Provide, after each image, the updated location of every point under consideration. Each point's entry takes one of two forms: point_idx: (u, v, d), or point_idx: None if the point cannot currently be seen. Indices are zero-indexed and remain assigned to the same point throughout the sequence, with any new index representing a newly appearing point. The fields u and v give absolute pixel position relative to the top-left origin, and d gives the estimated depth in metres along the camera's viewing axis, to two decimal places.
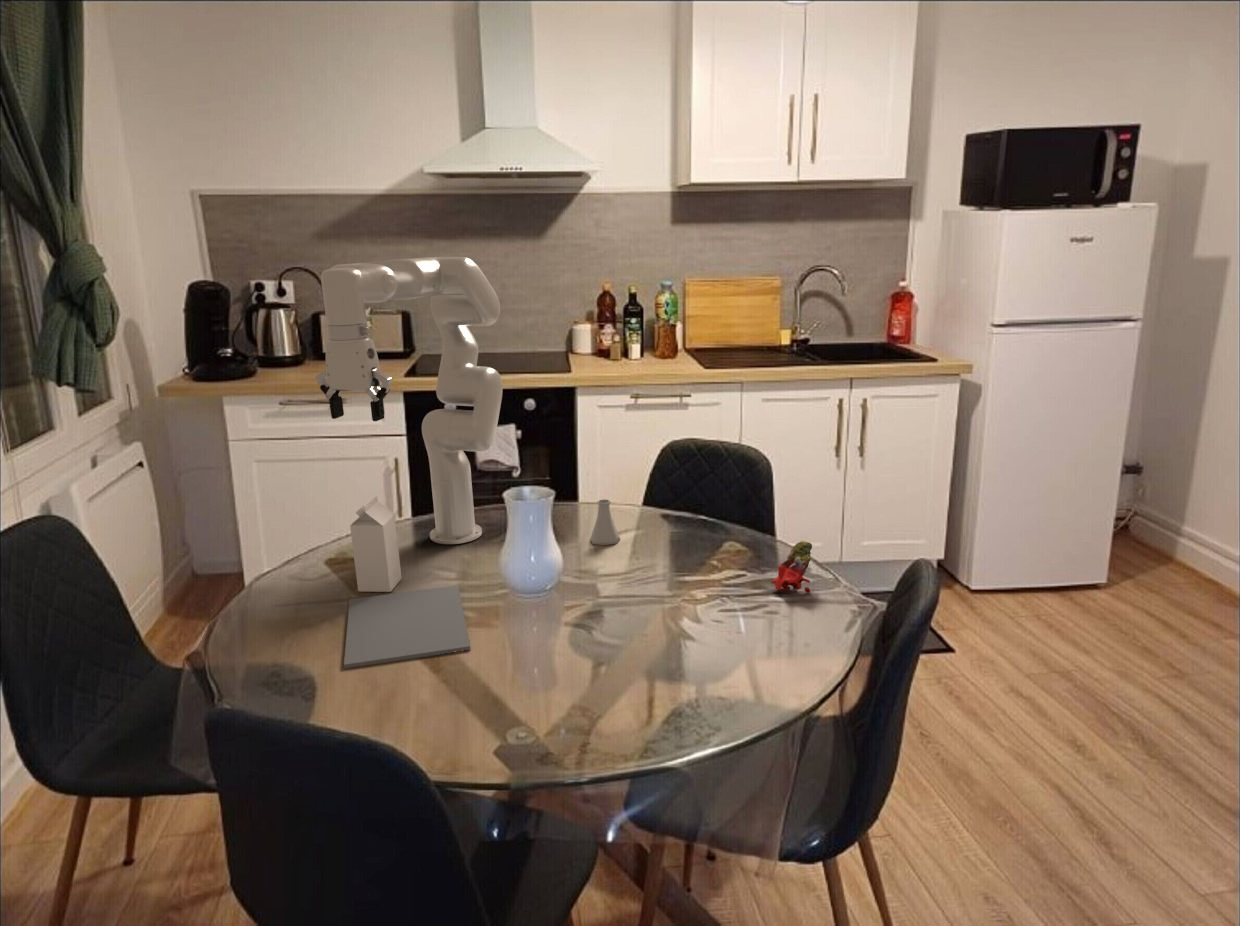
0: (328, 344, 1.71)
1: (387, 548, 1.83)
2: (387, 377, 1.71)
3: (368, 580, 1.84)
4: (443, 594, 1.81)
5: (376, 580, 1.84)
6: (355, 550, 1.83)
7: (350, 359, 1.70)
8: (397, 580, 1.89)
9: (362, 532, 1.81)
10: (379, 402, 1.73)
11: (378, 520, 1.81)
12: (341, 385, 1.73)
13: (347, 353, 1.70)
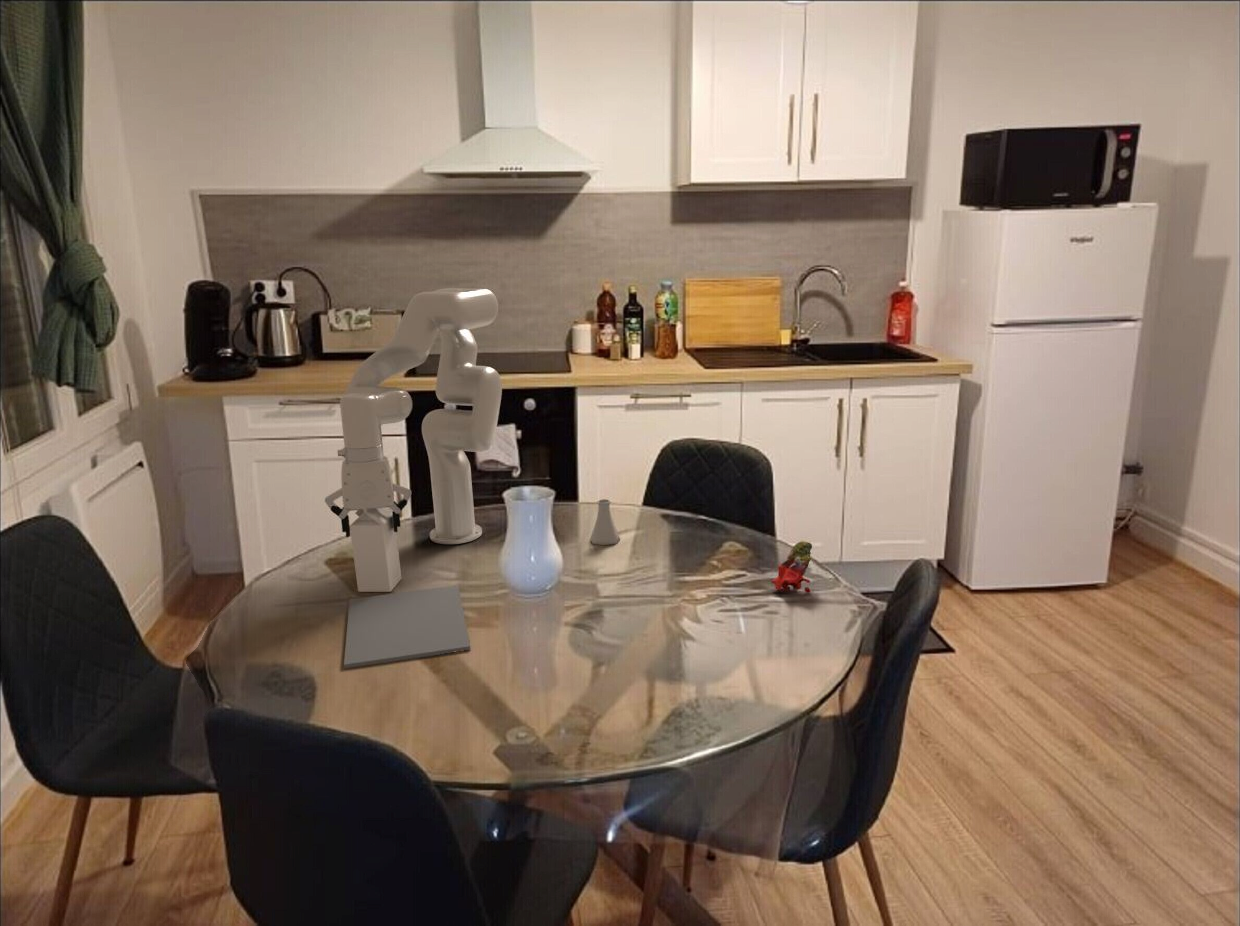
0: None
1: (387, 548, 1.83)
2: (327, 496, 1.80)
3: (368, 580, 1.84)
4: (443, 594, 1.81)
5: (376, 580, 1.84)
6: (355, 550, 1.83)
7: None
8: (397, 580, 1.89)
9: (362, 532, 1.81)
10: None
11: (378, 520, 1.81)
12: None
13: None
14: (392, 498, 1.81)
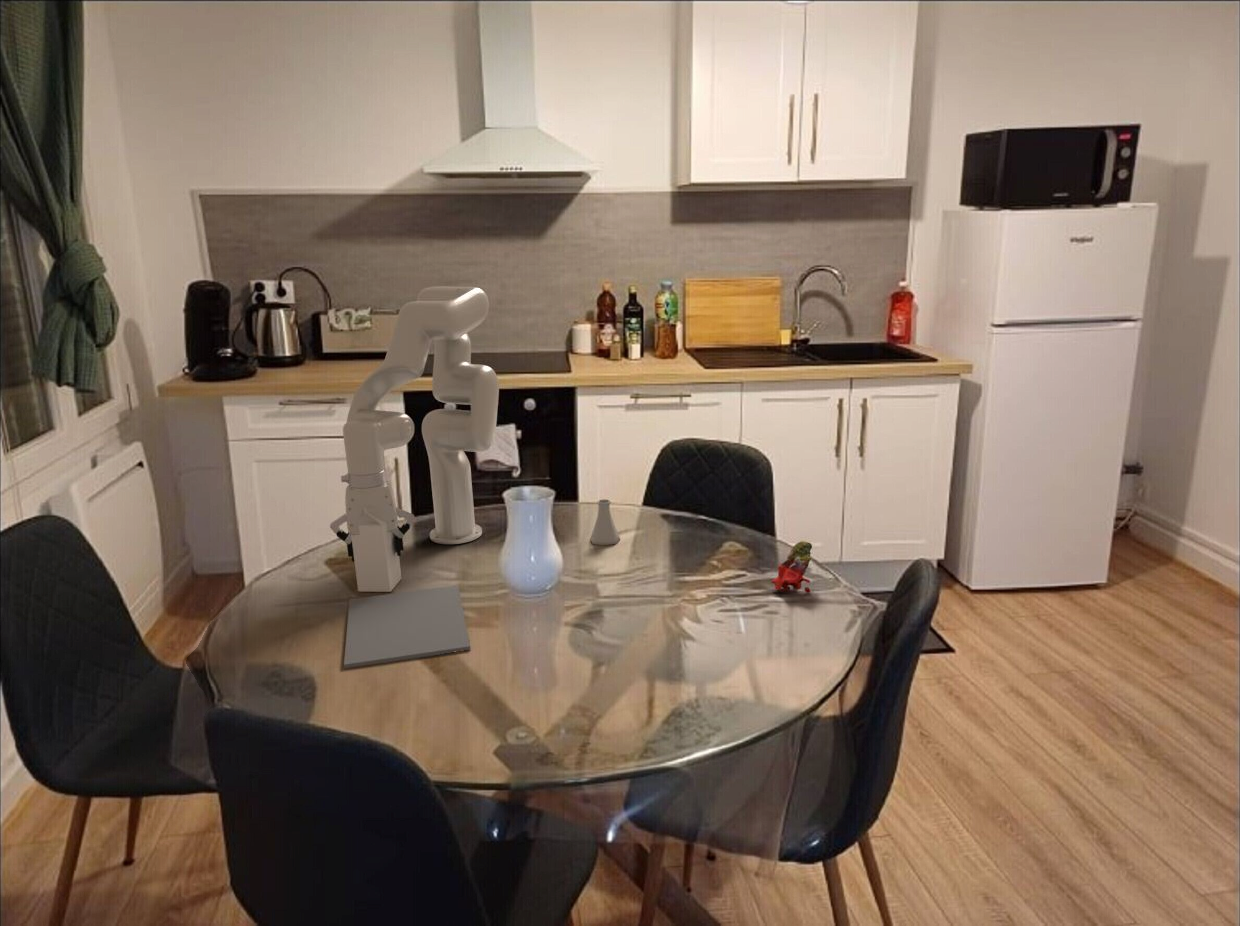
0: None
1: (387, 548, 1.83)
2: (332, 522, 1.82)
3: (368, 580, 1.84)
4: (443, 594, 1.81)
5: (376, 580, 1.84)
6: (355, 550, 1.83)
7: None
8: (397, 580, 1.89)
9: (362, 532, 1.81)
10: None
11: (378, 520, 1.81)
12: None
13: None
14: (396, 522, 1.83)
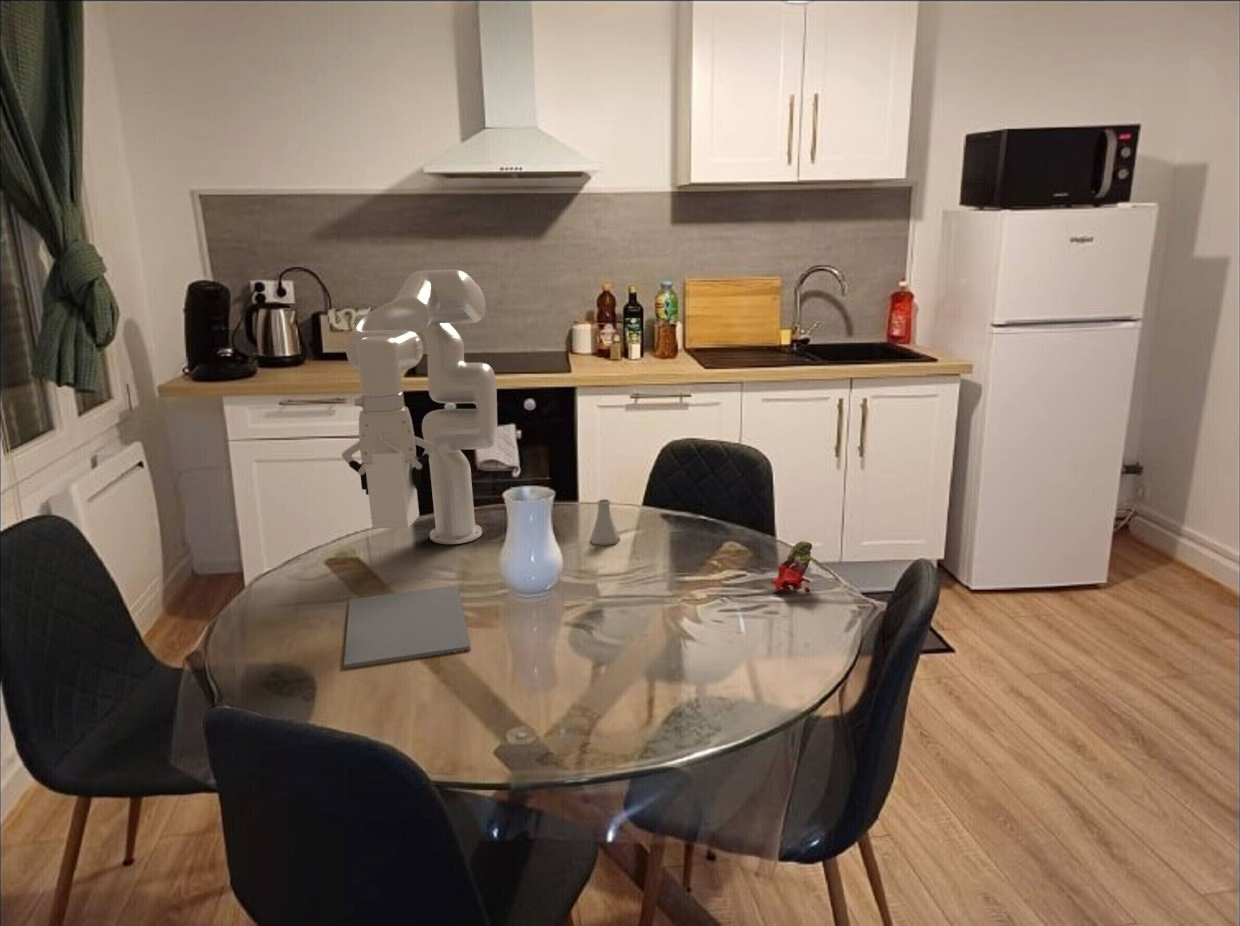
0: None
1: (405, 479, 1.67)
2: (344, 451, 1.66)
3: (383, 515, 1.68)
4: (443, 594, 1.81)
5: (392, 514, 1.68)
6: (369, 481, 1.67)
7: None
8: (415, 517, 1.73)
9: (377, 461, 1.65)
10: None
11: (395, 448, 1.65)
12: None
13: None
14: (414, 451, 1.67)
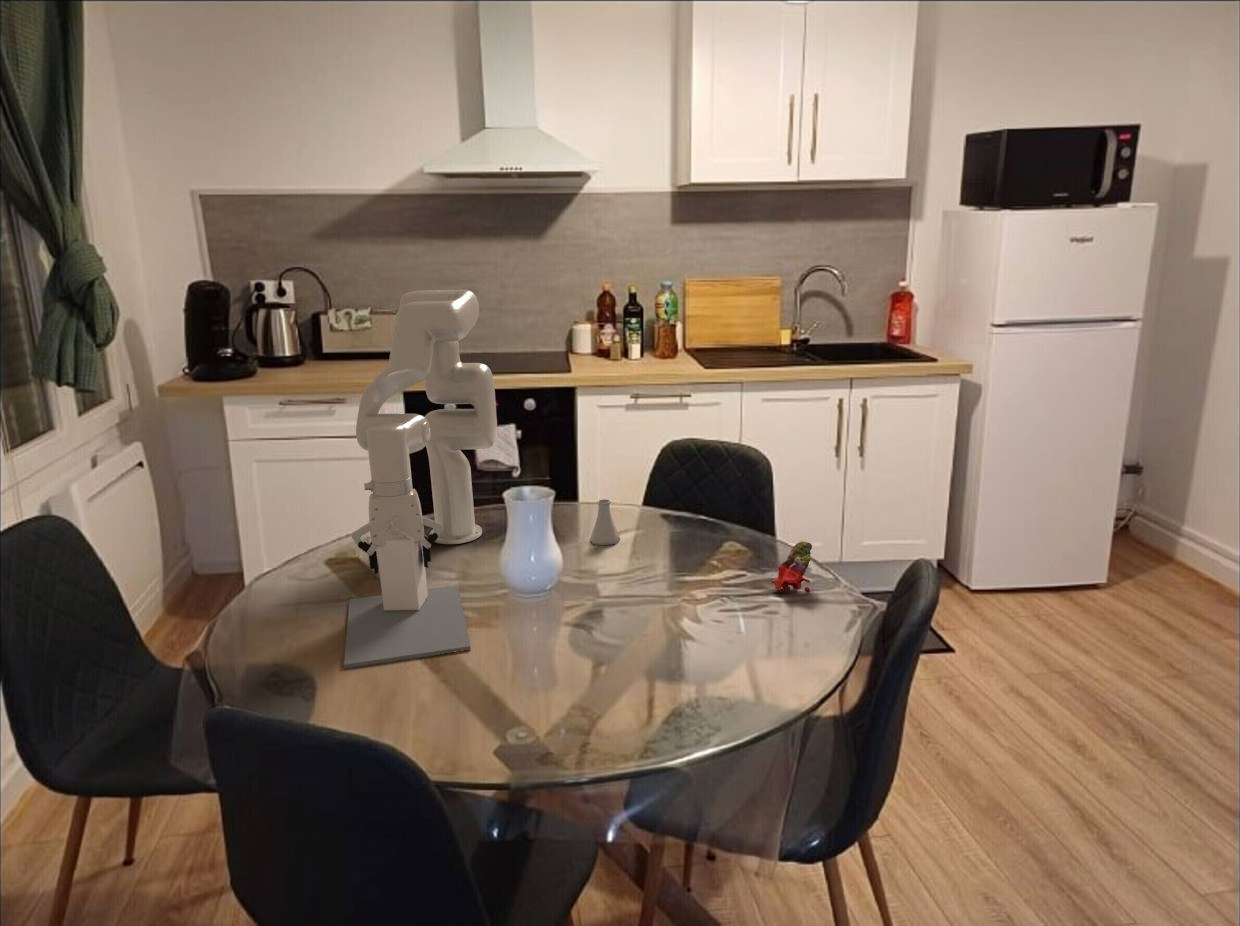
0: None
1: (416, 564, 1.72)
2: (354, 532, 1.71)
3: (395, 598, 1.73)
4: (443, 594, 1.81)
5: (403, 598, 1.73)
6: (381, 567, 1.72)
7: None
8: (424, 597, 1.78)
9: (389, 547, 1.70)
10: None
11: (406, 534, 1.70)
12: None
13: None
14: (422, 533, 1.72)
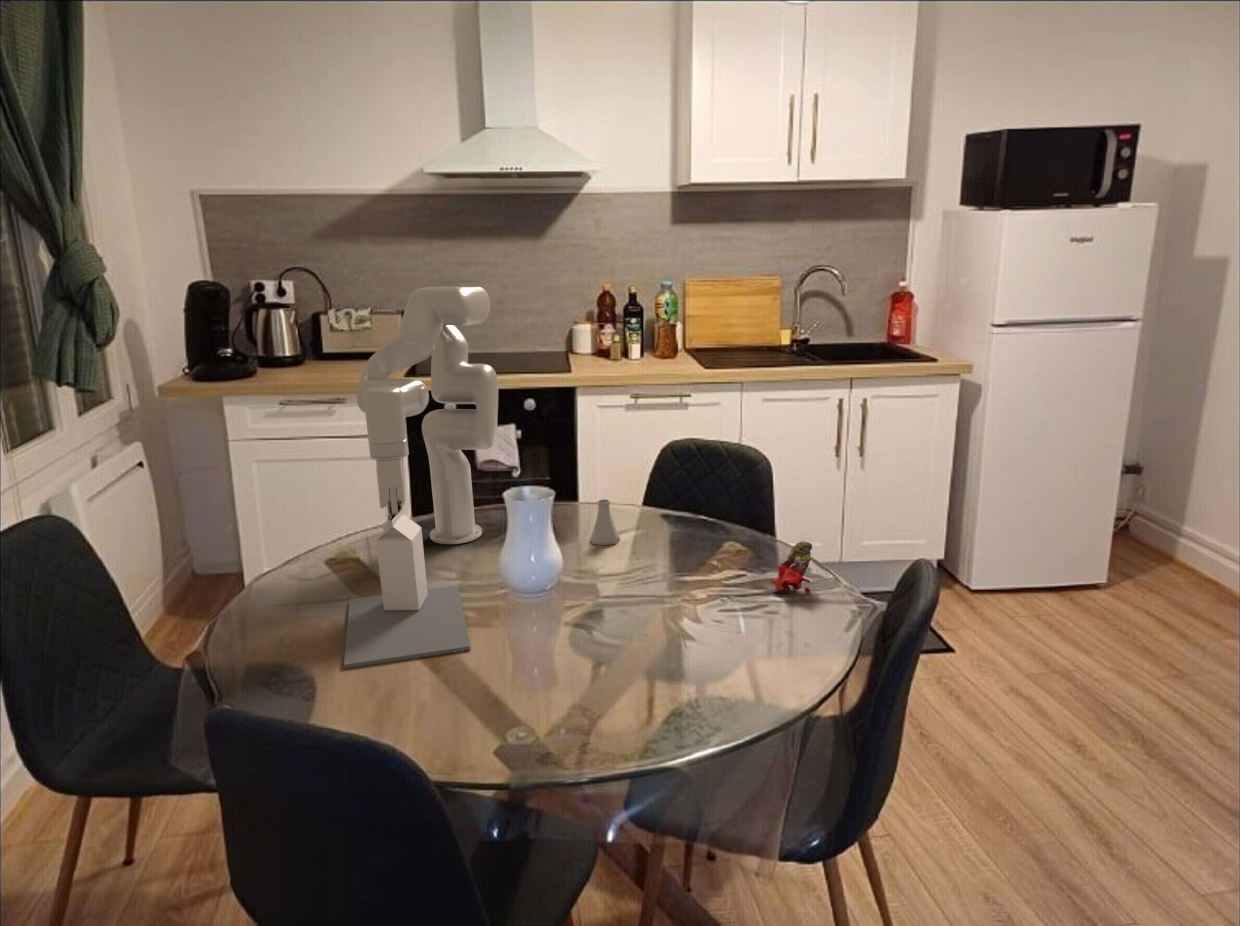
0: (401, 461, 1.73)
1: (416, 564, 1.72)
2: None
3: (395, 598, 1.73)
4: (443, 594, 1.81)
5: (403, 598, 1.73)
6: (381, 567, 1.72)
7: None
8: (424, 597, 1.78)
9: (389, 547, 1.70)
10: None
11: (406, 534, 1.70)
12: None
13: None
14: (380, 501, 1.72)
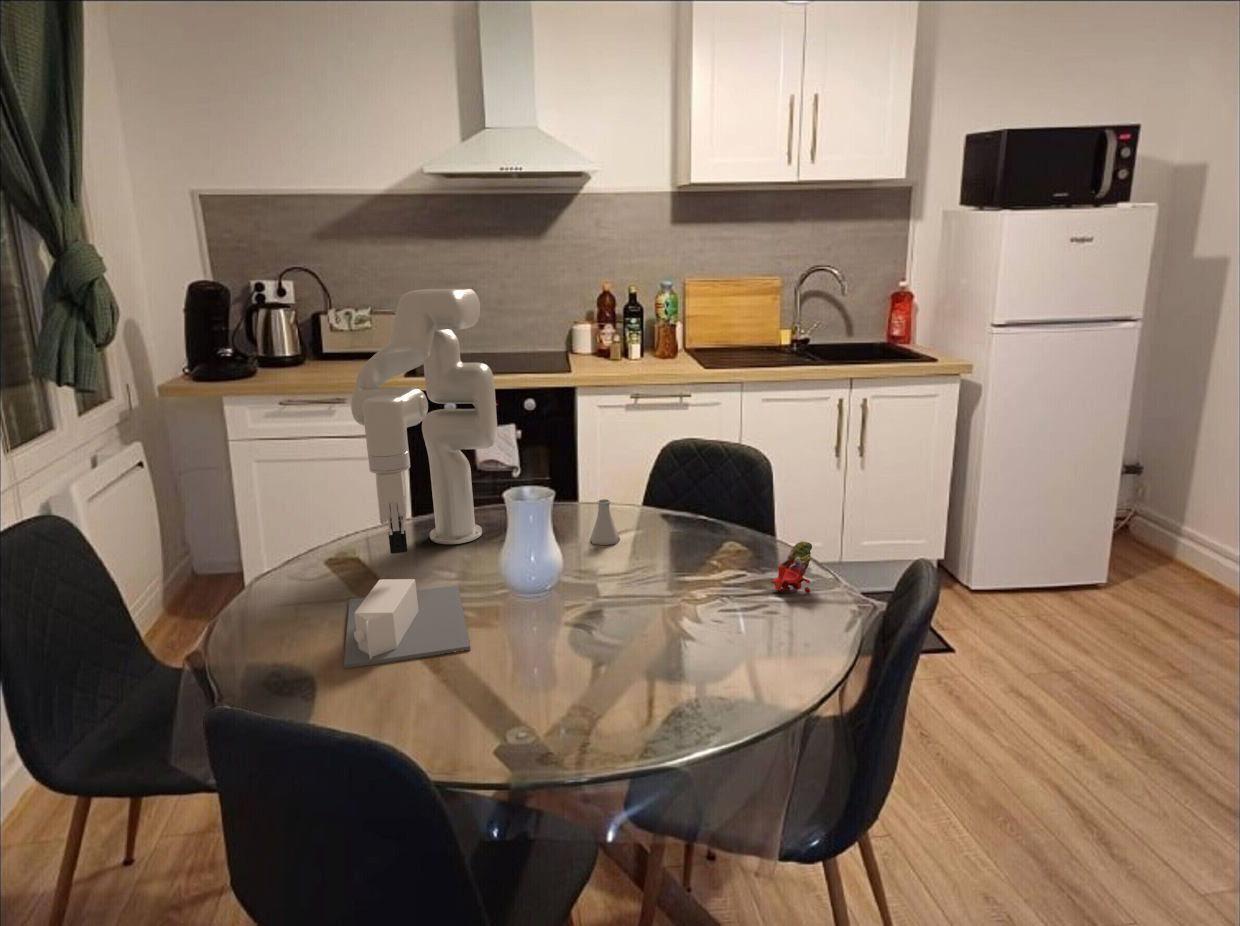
0: (402, 474, 1.64)
1: (404, 628, 1.64)
2: None
3: None
4: (443, 594, 1.81)
5: None
6: None
7: None
8: (415, 592, 1.72)
9: None
10: None
11: (389, 647, 1.58)
12: None
13: None
14: (380, 517, 1.64)
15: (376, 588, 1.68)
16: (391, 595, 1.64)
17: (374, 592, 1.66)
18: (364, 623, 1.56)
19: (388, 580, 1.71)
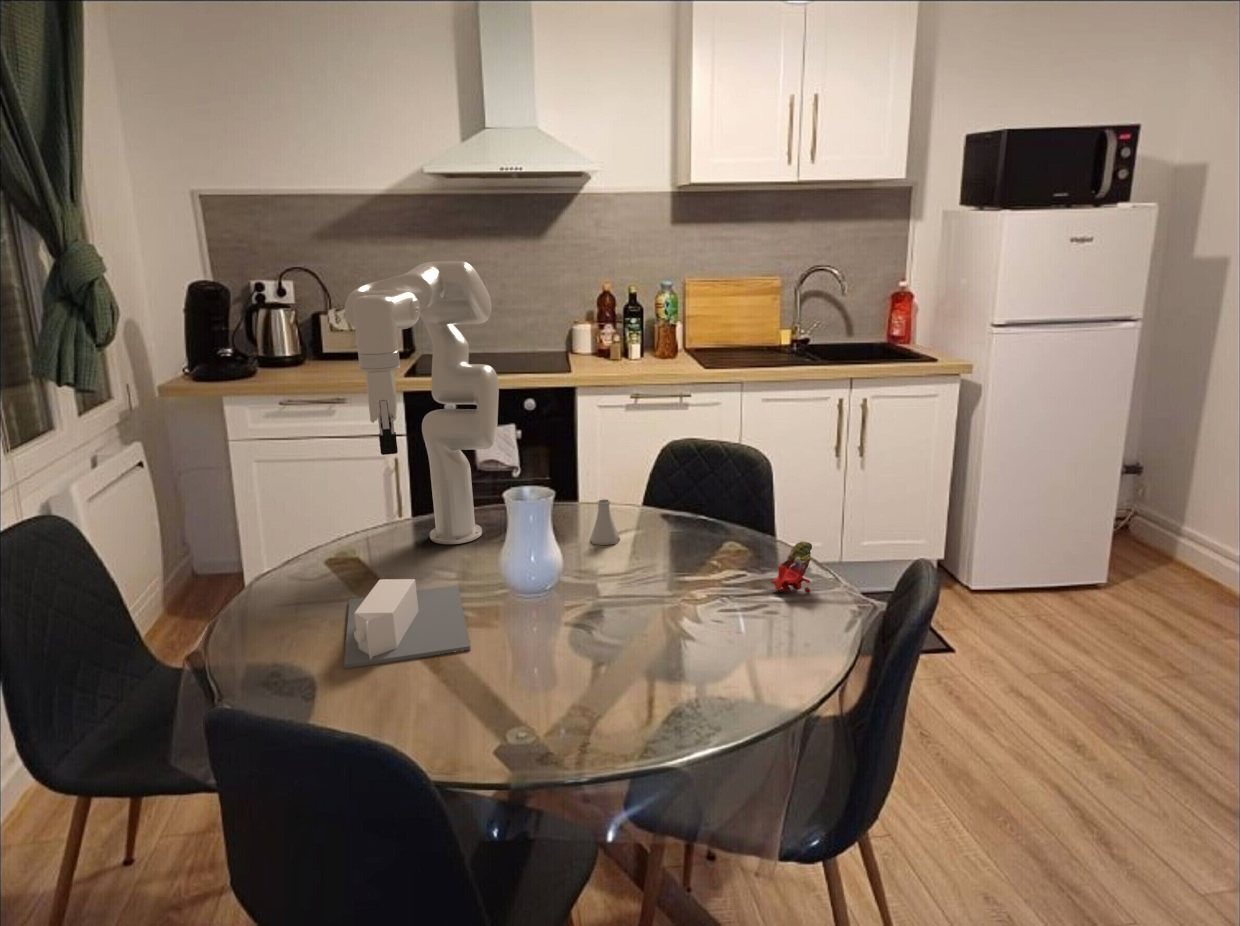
0: (392, 373, 1.66)
1: (404, 628, 1.64)
2: None
3: None
4: (443, 594, 1.81)
5: None
6: None
7: None
8: (415, 592, 1.72)
9: None
10: None
11: (389, 647, 1.58)
12: None
13: None
14: (371, 415, 1.66)
15: (376, 588, 1.68)
16: (391, 595, 1.64)
17: (374, 592, 1.66)
18: (364, 623, 1.56)
19: (388, 580, 1.71)
